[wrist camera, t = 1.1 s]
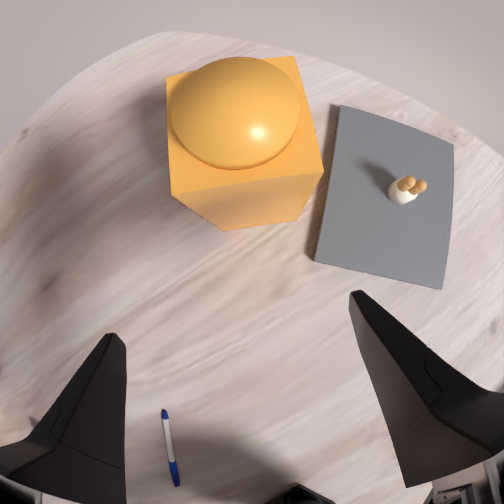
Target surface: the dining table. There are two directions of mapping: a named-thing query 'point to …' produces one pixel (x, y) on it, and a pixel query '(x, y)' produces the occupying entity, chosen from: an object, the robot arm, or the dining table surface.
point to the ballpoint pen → (170, 449)
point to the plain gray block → (387, 200)
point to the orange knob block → (242, 142)
